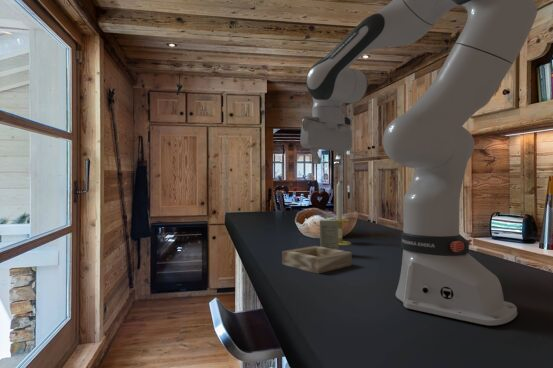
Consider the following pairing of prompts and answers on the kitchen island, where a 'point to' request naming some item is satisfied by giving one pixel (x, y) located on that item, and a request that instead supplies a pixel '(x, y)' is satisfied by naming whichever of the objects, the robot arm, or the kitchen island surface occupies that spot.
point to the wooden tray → (317, 259)
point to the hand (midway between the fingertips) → (327, 164)
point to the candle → (340, 214)
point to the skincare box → (329, 234)
